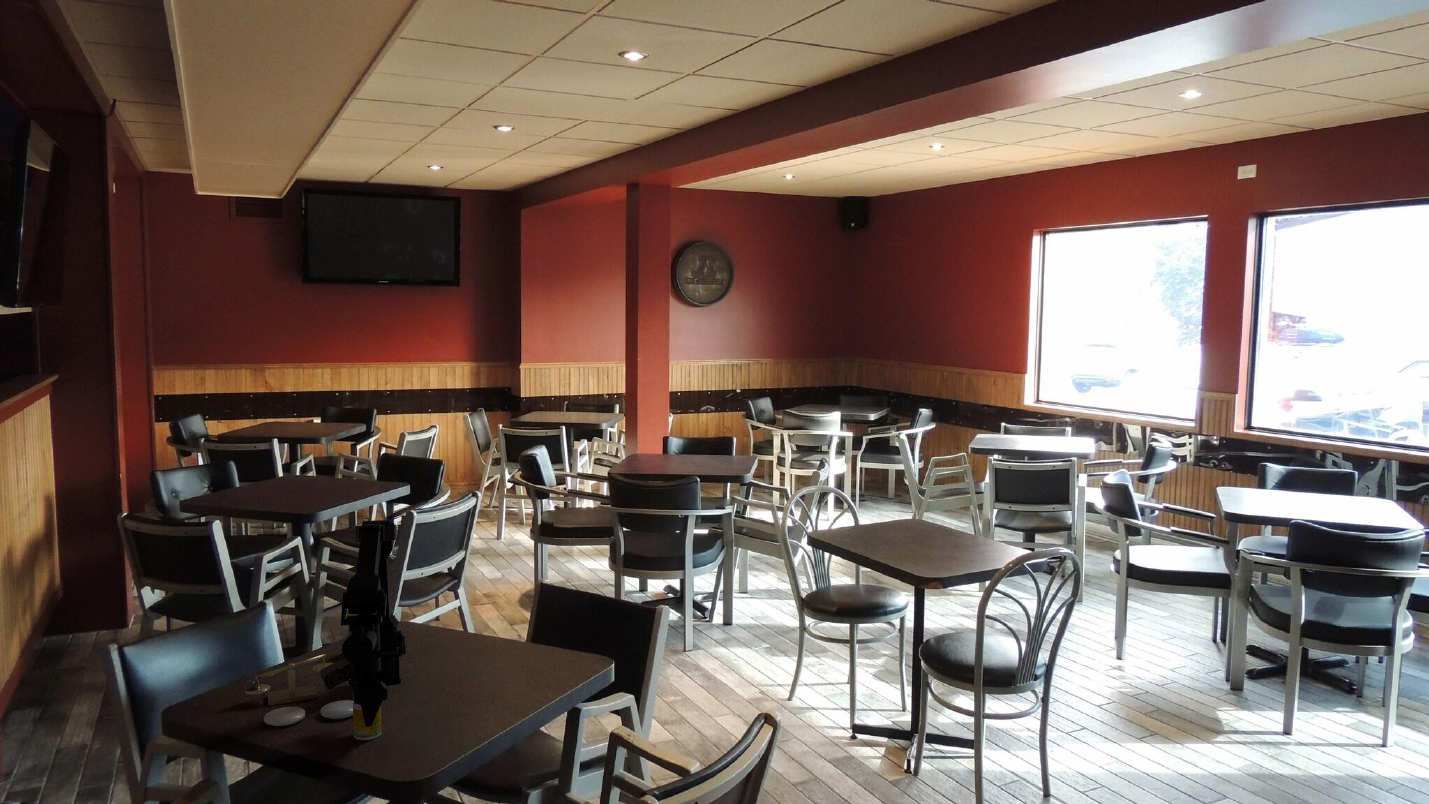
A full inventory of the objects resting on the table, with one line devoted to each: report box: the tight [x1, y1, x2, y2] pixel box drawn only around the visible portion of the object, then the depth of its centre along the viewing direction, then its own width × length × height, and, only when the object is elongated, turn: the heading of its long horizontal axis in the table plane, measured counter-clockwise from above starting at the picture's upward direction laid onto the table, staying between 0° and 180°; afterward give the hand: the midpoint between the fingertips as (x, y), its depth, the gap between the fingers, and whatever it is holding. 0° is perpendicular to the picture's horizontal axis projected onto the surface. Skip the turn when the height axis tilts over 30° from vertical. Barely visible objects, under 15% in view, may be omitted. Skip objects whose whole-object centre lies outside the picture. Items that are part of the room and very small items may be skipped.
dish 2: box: [320, 699, 354, 720], centre depth 216 cm, size 8×8×1 cm
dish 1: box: [263, 706, 306, 727], centre depth 213 cm, size 8×8×1 cm
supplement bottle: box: [352, 702, 383, 741], centre depth 205 cm, size 5×5×10 cm
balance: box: [244, 653, 334, 706], centre depth 225 cm, size 19×6×9 cm, turn 115°
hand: (367, 721), depth 205 cm, fingers closed on supplement bottle, 5 cm apart
